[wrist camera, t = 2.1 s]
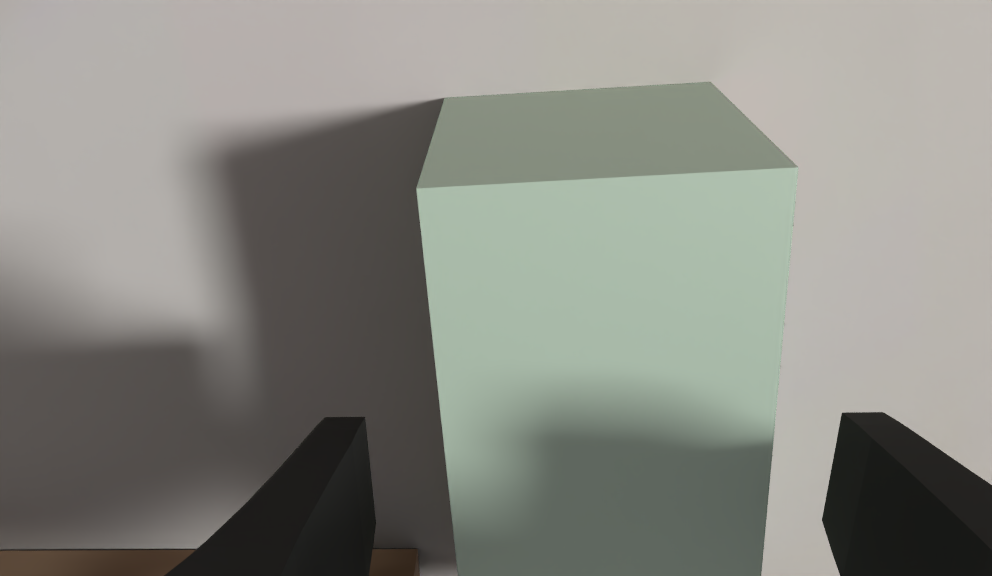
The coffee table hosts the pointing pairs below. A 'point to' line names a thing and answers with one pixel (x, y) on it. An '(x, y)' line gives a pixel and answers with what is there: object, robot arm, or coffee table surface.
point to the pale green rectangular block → (606, 328)
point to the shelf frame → (157, 562)
